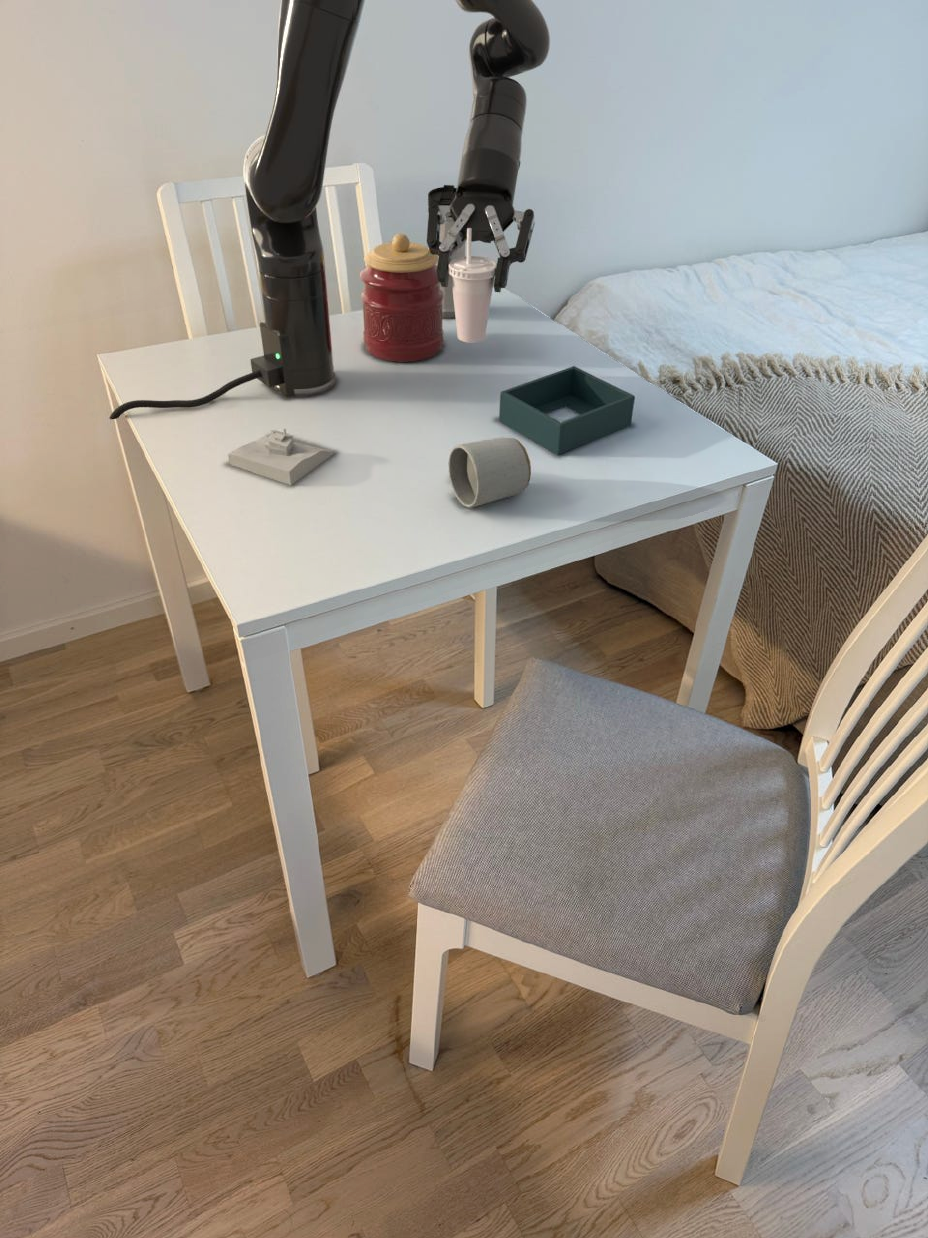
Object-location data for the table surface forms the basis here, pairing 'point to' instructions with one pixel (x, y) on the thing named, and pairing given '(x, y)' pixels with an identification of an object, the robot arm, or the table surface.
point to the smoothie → (472, 293)
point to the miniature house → (278, 457)
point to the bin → (576, 390)
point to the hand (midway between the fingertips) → (470, 286)
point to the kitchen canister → (402, 301)
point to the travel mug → (442, 198)
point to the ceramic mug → (488, 470)
